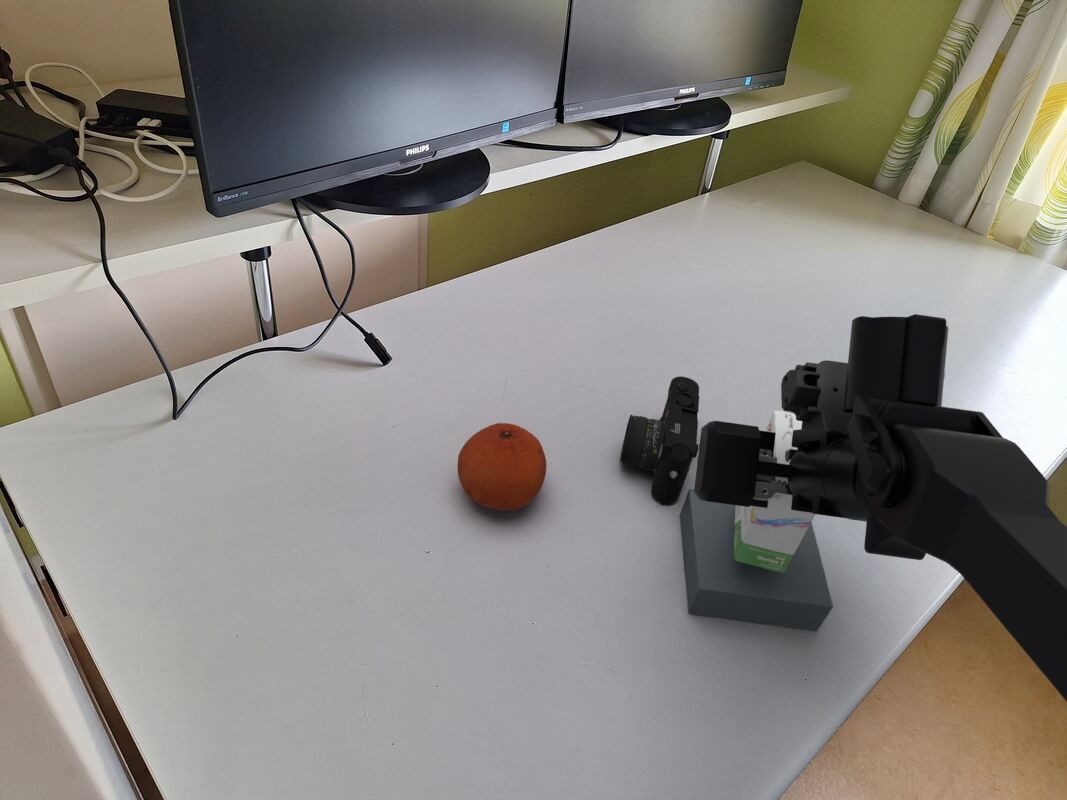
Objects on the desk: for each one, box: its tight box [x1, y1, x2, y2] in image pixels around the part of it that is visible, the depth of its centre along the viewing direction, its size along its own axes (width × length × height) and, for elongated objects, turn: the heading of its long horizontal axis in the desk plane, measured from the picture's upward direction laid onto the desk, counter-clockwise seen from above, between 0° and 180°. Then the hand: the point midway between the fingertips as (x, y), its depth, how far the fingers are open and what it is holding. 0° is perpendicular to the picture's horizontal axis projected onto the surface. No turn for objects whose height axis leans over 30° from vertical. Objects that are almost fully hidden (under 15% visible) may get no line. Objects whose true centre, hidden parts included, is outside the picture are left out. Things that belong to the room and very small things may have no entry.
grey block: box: [679, 487, 834, 632], centre depth 73 cm, size 12×12×4 cm
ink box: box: [734, 409, 816, 573], centre depth 67 cm, size 8×5×12 cm, turn 167°
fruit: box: [457, 422, 547, 511], centre depth 75 cm, size 9×9×8 cm
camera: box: [619, 376, 700, 506], centre depth 82 cm, size 14×7×8 cm, turn 169°
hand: (781, 474), depth 67 cm, fingers closed on ink box, 5 cm apart
